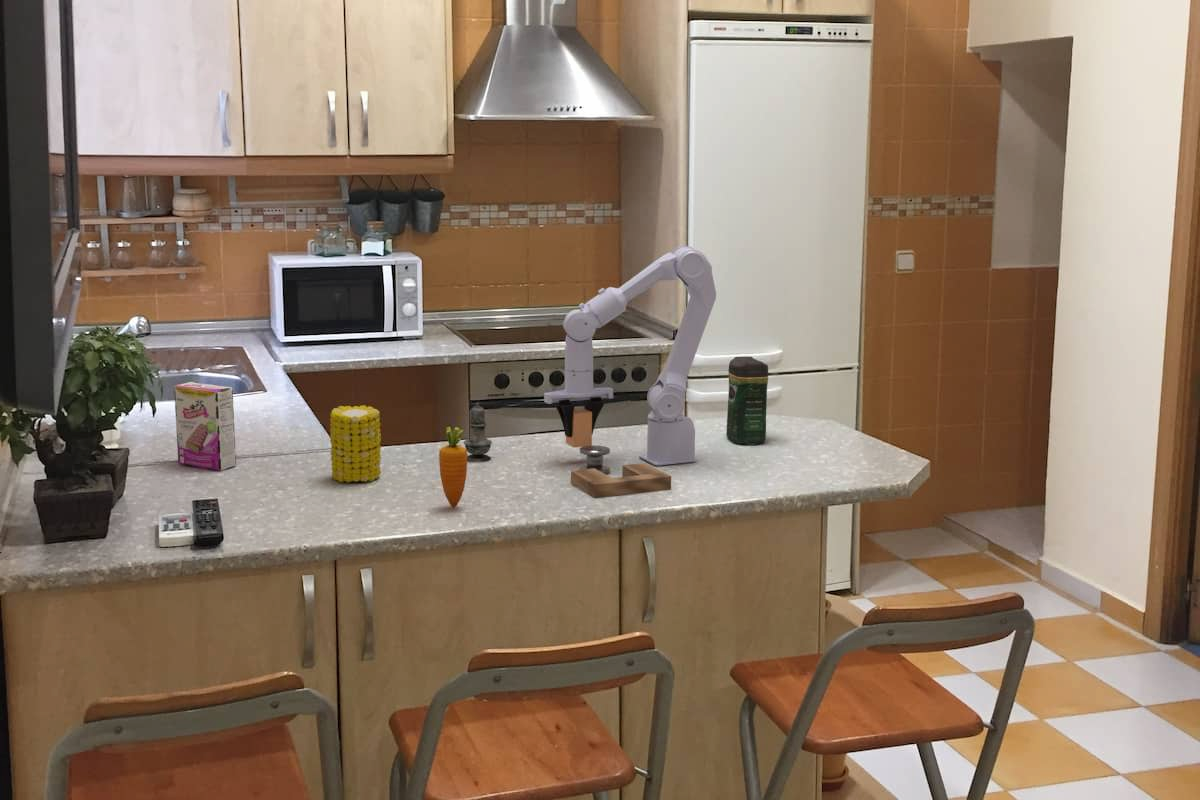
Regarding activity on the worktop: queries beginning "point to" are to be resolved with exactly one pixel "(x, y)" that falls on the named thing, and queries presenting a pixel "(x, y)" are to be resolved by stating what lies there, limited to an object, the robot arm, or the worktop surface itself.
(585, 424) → the brown block
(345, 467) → the food
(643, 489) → the notched board
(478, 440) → the salt shaker
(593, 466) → the doorknob
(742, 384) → the coffee jar
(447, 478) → the carrot
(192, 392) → the candy bar box
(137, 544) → the worktop surface
